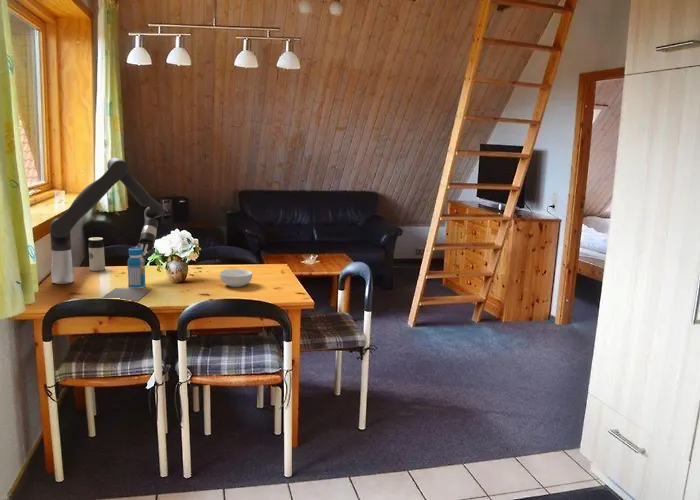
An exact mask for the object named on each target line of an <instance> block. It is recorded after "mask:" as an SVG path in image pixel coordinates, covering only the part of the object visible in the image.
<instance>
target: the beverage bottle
mask: <svg viewBox="0 0 700 500" xmlns="http://www.w3.org/2000/svg"><path fill="white" fill-rule="evenodd" d="M127 250H128V256H129V257H128V259H127V262H126V263H127V278H128V279H127V280H128V288H131V289H145V287H146V265H145V263H146V260H145V261H144V259H143V257H142V256H141V255H143V249H142V248H133V247H130V248H128V249H127ZM144 262H145V263H144Z"/></svg>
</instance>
